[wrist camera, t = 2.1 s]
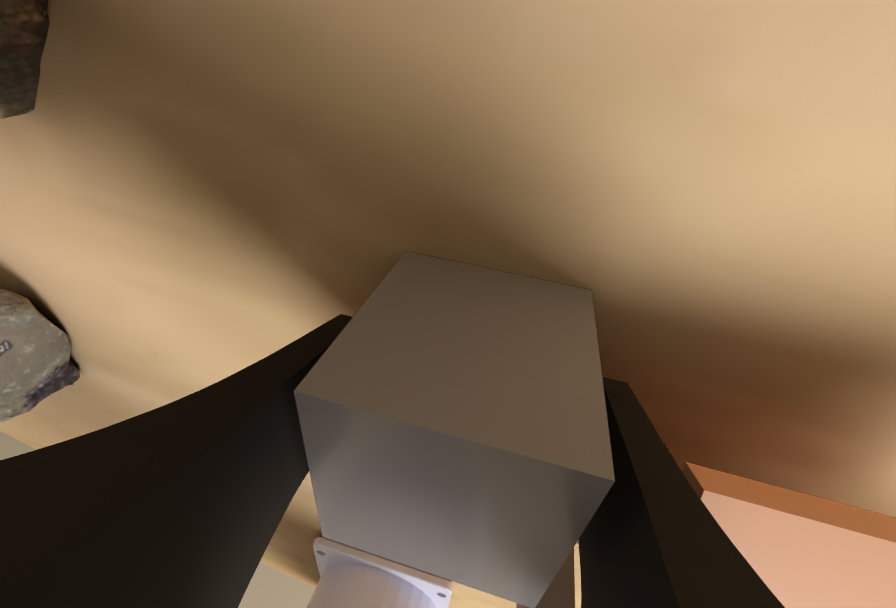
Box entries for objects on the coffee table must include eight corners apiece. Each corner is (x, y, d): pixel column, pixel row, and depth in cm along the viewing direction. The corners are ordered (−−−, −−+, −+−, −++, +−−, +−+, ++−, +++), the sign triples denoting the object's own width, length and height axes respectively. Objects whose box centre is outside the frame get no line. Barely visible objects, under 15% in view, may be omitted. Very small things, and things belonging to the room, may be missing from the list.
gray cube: (544, 415, 12) (534, 608, 8) (401, 377, 13) (322, 536, 9) (591, 288, 9) (614, 481, 5) (406, 250, 10) (293, 391, 6)
